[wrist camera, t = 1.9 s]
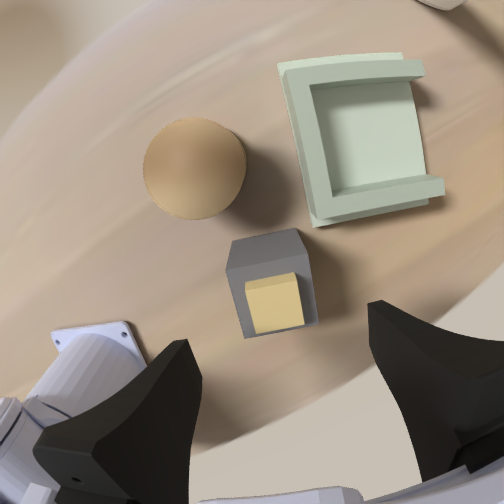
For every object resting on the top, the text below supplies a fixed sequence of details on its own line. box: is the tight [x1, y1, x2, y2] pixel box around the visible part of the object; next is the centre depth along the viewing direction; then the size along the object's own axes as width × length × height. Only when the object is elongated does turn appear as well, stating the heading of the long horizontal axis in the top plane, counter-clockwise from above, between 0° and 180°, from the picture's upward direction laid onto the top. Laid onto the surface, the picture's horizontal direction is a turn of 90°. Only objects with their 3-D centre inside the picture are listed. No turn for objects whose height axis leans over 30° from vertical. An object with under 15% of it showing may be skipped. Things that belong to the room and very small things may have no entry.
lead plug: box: [225, 228, 319, 339], centre depth 18 cm, size 4×4×6 cm
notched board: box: [277, 53, 445, 228], centre depth 16 cm, size 10×8×3 cm
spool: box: [143, 118, 247, 220], centre depth 17 cm, size 5×5×4 cm
